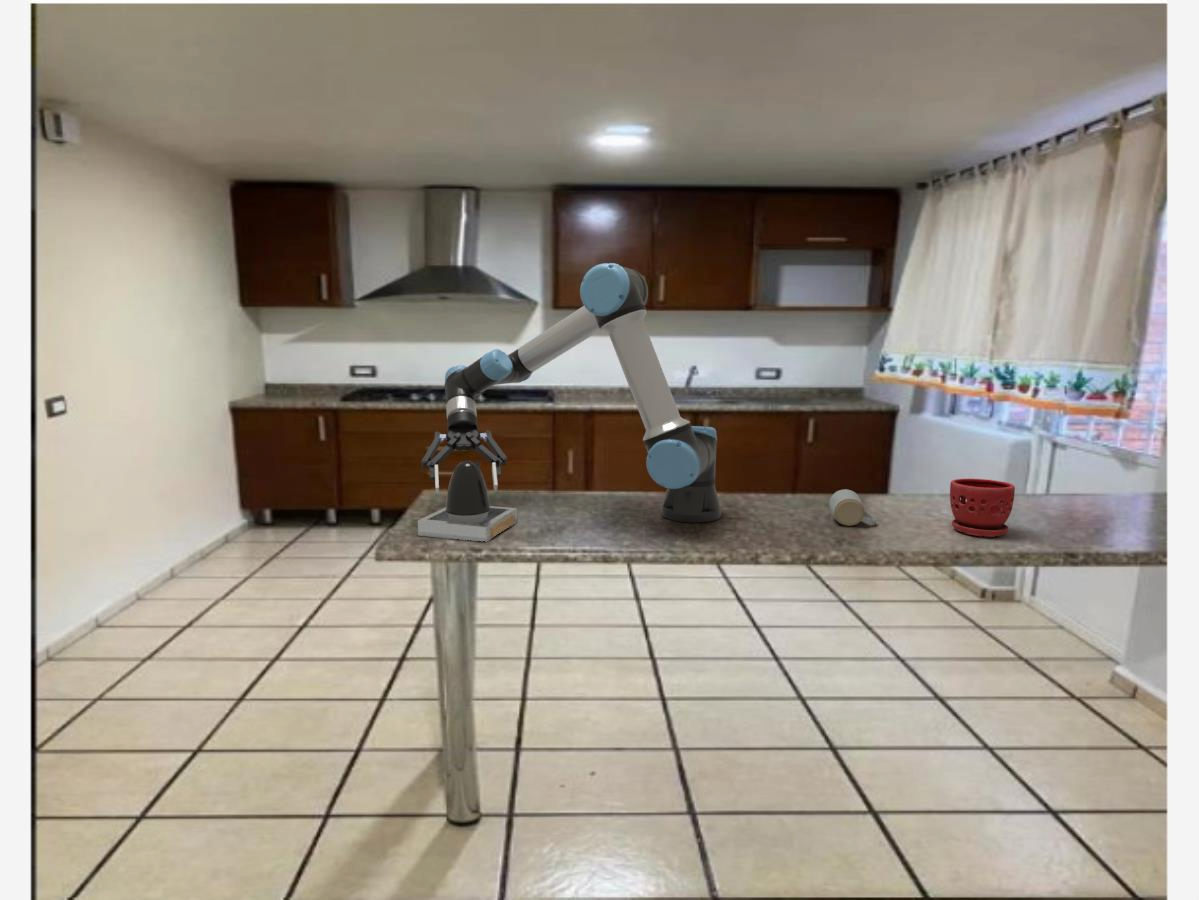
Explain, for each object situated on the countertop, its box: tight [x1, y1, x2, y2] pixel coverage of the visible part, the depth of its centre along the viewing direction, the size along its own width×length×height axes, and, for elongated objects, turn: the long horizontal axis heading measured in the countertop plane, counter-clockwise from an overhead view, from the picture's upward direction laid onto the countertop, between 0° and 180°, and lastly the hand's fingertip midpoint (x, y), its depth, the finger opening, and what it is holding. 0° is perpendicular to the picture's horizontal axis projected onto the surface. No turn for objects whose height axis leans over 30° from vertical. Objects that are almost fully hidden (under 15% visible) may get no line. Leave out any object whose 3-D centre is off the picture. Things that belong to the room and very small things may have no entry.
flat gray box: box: [417, 505, 518, 543], centre depth 156 cm, size 18×17×4 cm
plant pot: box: [949, 478, 1016, 538], centre depth 156 cm, size 13×13×12 cm
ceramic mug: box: [829, 488, 877, 527], centre depth 163 cm, size 11×8×8 cm
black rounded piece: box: [445, 460, 491, 524], centre depth 155 cm, size 10×10×15 cm
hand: (466, 489), depth 157 cm, fingers open, 13 cm apart
